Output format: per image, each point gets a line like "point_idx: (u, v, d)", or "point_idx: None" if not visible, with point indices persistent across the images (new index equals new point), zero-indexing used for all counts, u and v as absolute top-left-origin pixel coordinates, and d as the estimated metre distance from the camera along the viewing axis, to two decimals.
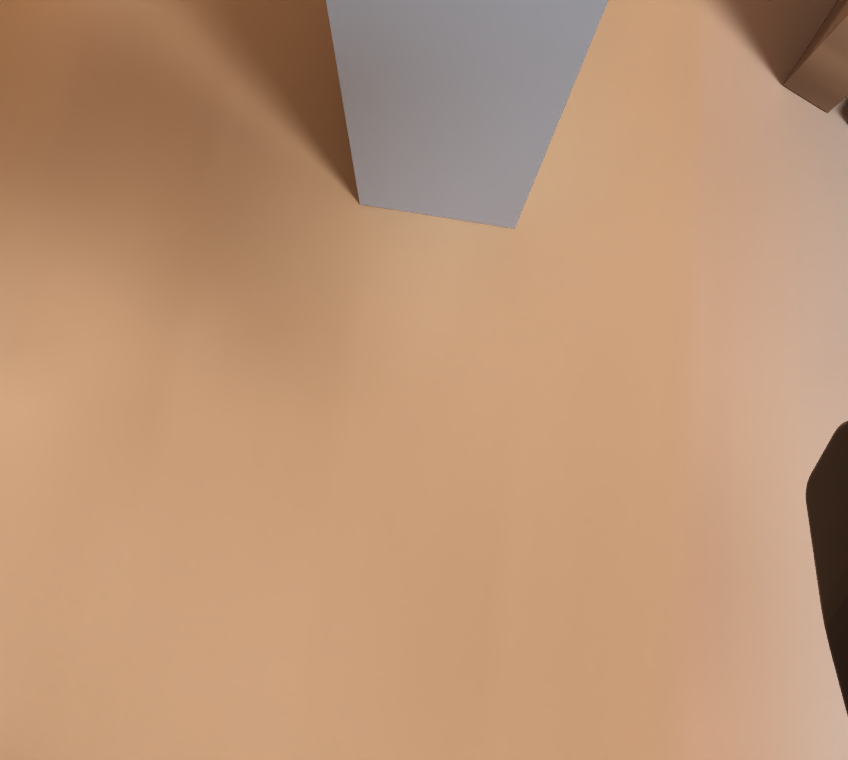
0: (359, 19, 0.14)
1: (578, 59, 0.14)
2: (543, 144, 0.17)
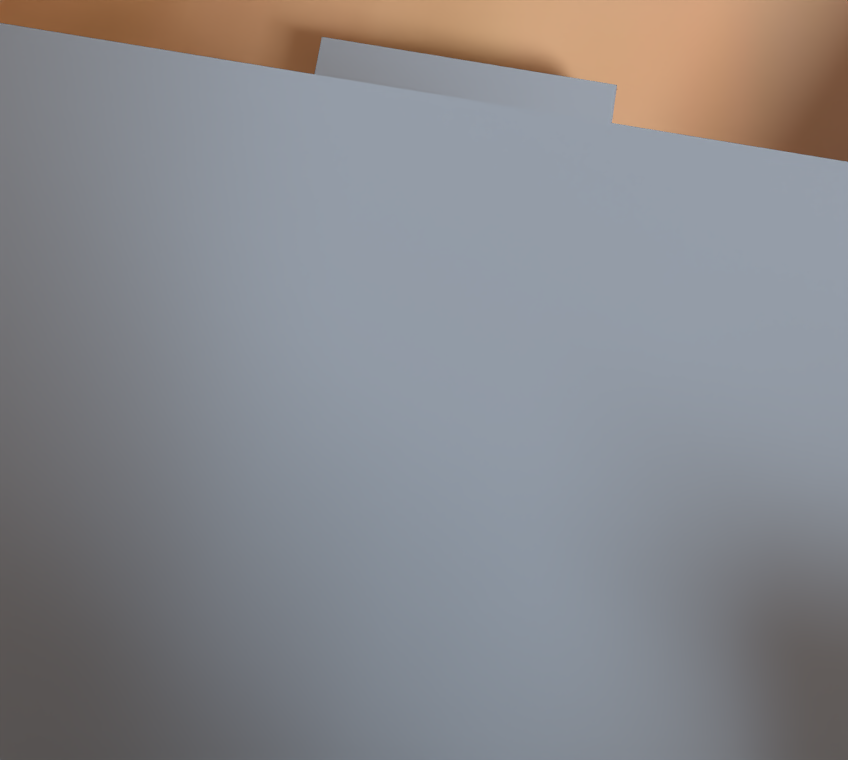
0: None
1: None
2: None
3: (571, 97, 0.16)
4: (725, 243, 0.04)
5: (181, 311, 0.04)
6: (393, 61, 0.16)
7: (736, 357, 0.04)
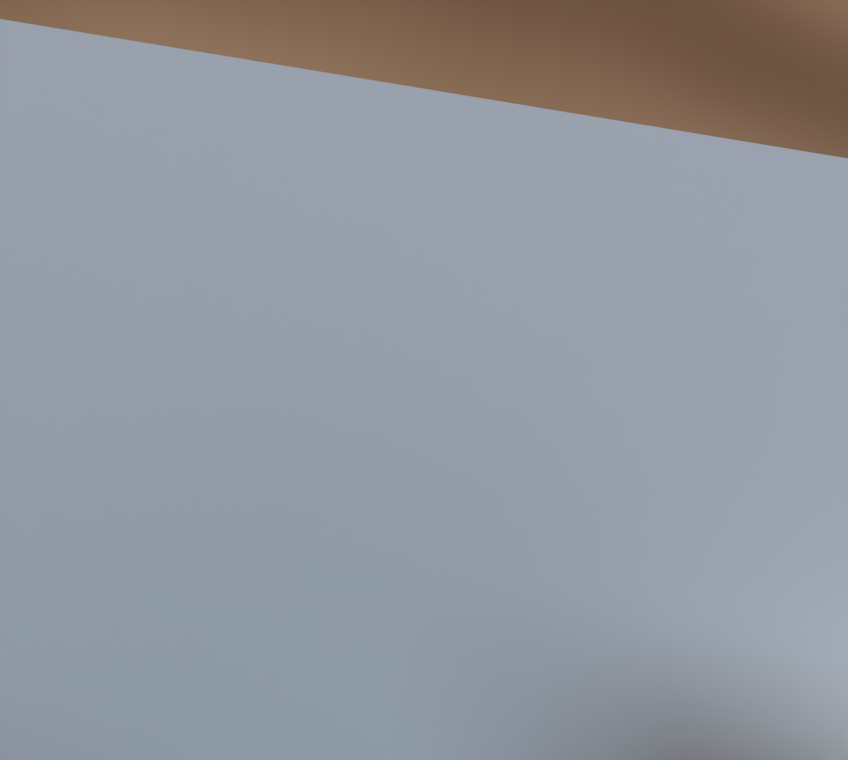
0: None
1: None
2: None
3: None
4: (729, 242, 0.04)
5: (181, 310, 0.03)
6: None
7: (740, 357, 0.03)
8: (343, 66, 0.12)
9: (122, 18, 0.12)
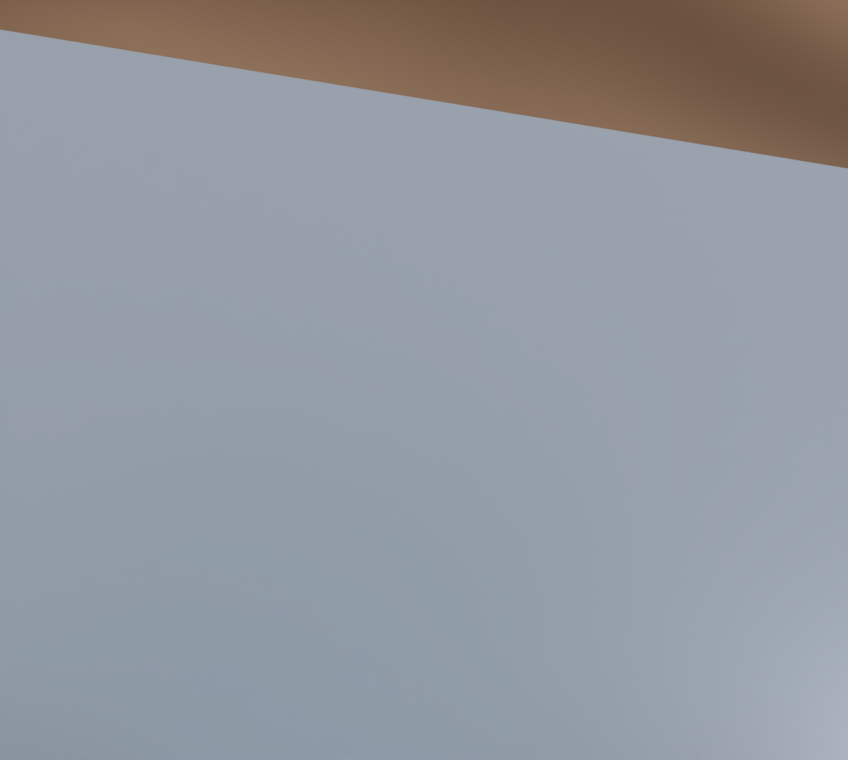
0: None
1: None
2: None
3: None
4: (723, 250, 0.04)
5: (179, 318, 0.04)
6: None
7: (734, 364, 0.04)
8: (341, 79, 0.12)
9: (119, 31, 0.12)
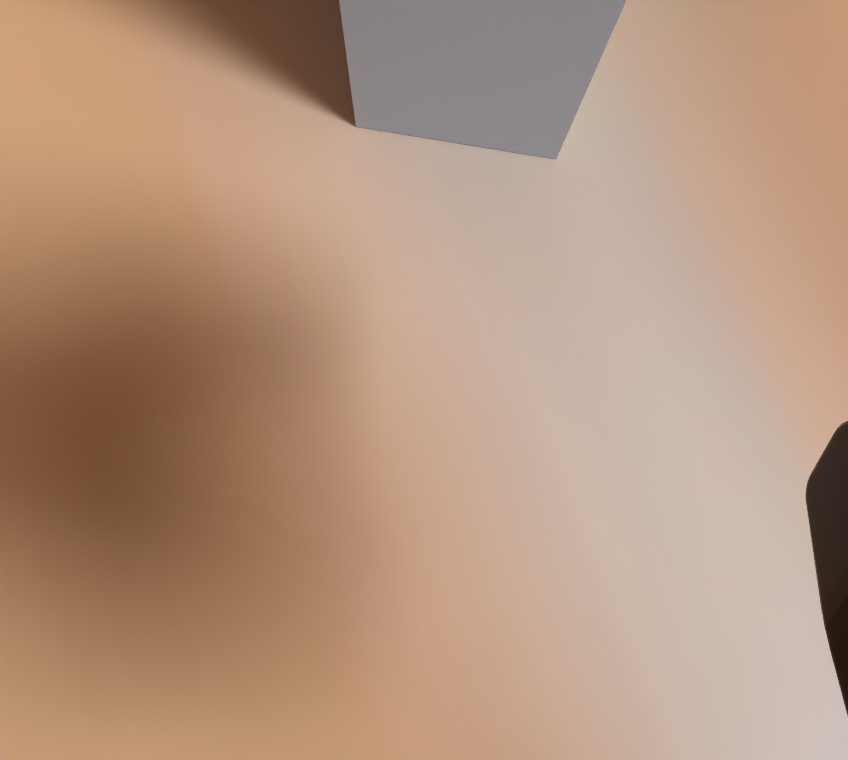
0: None
1: None
2: (616, 3, 0.12)
3: None
4: None
5: None
6: None
7: None
8: None
9: None
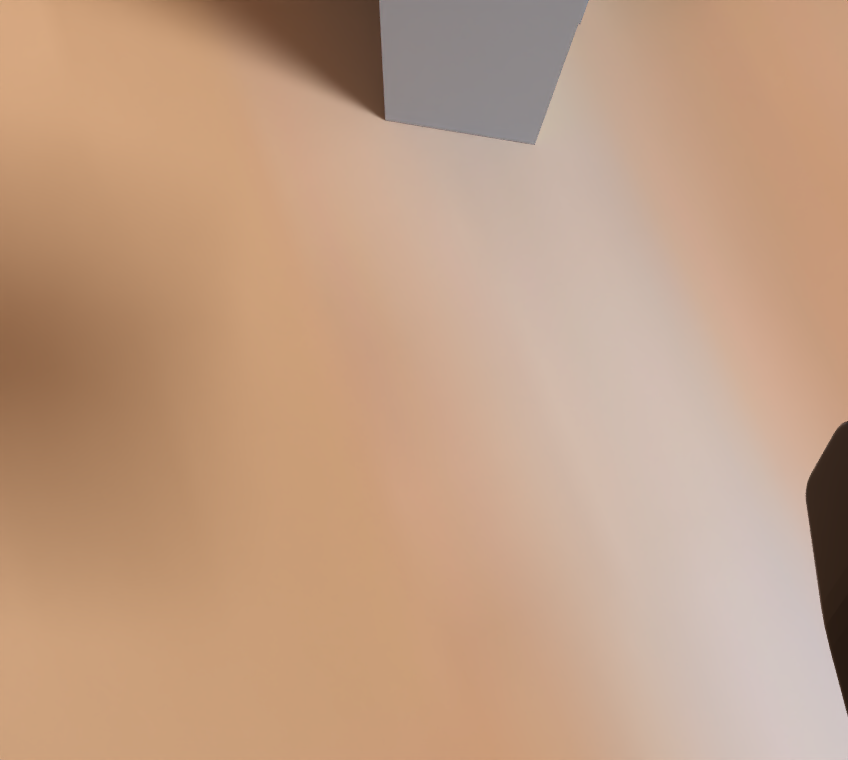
0: None
1: None
2: (568, 35, 0.18)
3: None
4: None
5: None
6: None
7: None
8: None
9: None
